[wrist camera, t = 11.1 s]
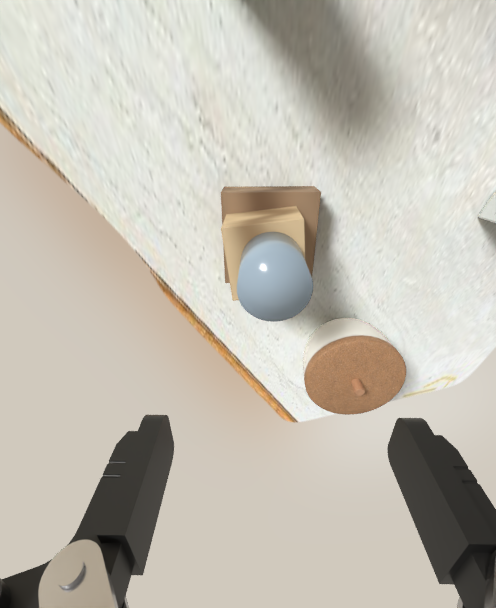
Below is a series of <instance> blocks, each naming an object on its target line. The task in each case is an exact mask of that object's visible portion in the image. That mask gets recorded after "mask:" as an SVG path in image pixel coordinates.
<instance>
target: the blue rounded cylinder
mask: <svg viewBox="0 0 496 608" xmlns="http://www.w3.org/2000/svg"><path fill="white" fill-rule="evenodd" d="M312 292H313V281H312V277H311V274H310V272H309V269H308V267H307V264H306V261H305V259H304V256H303V254H302V251H301V248H300V247H299V245H298V244H297V242H296V241H295V240H294V239H293V238H291V237H290V236H288V235H286V234H284V233H280V232H265V233H261V234H259V235H257V236H255V237H254V238H252V239H251V240H250V241H249V242H248V243H247V244H246V246H245V247H244V249H243V251H242V254H241V259H240V266H239V274H238V281H237V295H238V298H239V301H240V303H241V305H242V306H243V307H244V309H245V310H246V311H247V312H248V313H250V314H251V315H253V316H254V317H256V318H258V319H261V320H265V321H282V320H286V319H289V318H292V317H294V316H295V315H297V314H298V313H300V312H301V311H302V310H303V309H304V308H305V307H306V305H307V304H308V302H309V301H310V298H311V296H312Z"/></svg>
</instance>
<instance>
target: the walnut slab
mask: <svg viewBox="0 0 496 608" xmlns="http://www.w3.org/2000/svg"><path fill="white" fill-rule="evenodd" d="M320 196H321V192H320V191H319V190H318V189H317V188H315V187H314V186H289V187H224V188H223V190H222V192H221V204H222V225H223V222H224V219H225V217H226V214H233V213H241V212H250V211H258V210H267V209H275V208H284V207H292V206H297V208H298V210H299V211H300V213H301V215H302V217H303V218H304V234H305V261H306V264H307V267H308V269H309V272H310V274H311V277H312V271H313V262H314V252H315V243H316V234H317V224H318V215H319V206H320ZM223 245H224V244H223ZM224 265H225V283H230V280H229V274H228V268H227V262H226V256H225V250H224Z"/></svg>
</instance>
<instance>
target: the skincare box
mask: <svg viewBox="0 0 496 608" xmlns="http://www.w3.org/2000/svg"><path fill="white" fill-rule="evenodd" d="M478 217H479V218H481V219H483V220H486V221H490V222H493V223H495V224H496V191H495V193H494V194H493V195H492V196H491V198H490V199H489V200H488V202H487V203H486V205H485V206H484V207H483V209H482V210H481V211H480V213H479V214H478Z"/></svg>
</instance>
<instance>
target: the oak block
mask: <svg viewBox="0 0 496 608" xmlns="http://www.w3.org/2000/svg"><path fill="white" fill-rule="evenodd" d="M221 231H222V238H223V244H224V250H225V256H226V262H227V268H228V274H229V280H230V286H231V292H232V298H233V301H234V300H239V298H238V295H237V281H238V274H239V266H240V259H241V254H242V251H243V249H244V247H245V246H246V244H247V243H248V242H249V241H250V240H251V239H252V238H254V237H255V236H257V235H259V234H261V233H265V232H280V233H284V234H286V235H288V236H290V237H291V238H293V239H294V240H295V241H296V242H297V244H298V245H299V247H300V248H301V251H302V254H303V256H304V259H305V234H304V218H303V217H302V215H301V213H300V211H299V210H298V208H297V206H292V207H284V208H275V209H267V210H258V211H250V212H241V213H233V214H226V217H225V219H224V222H223V225H222V227H221Z"/></svg>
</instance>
